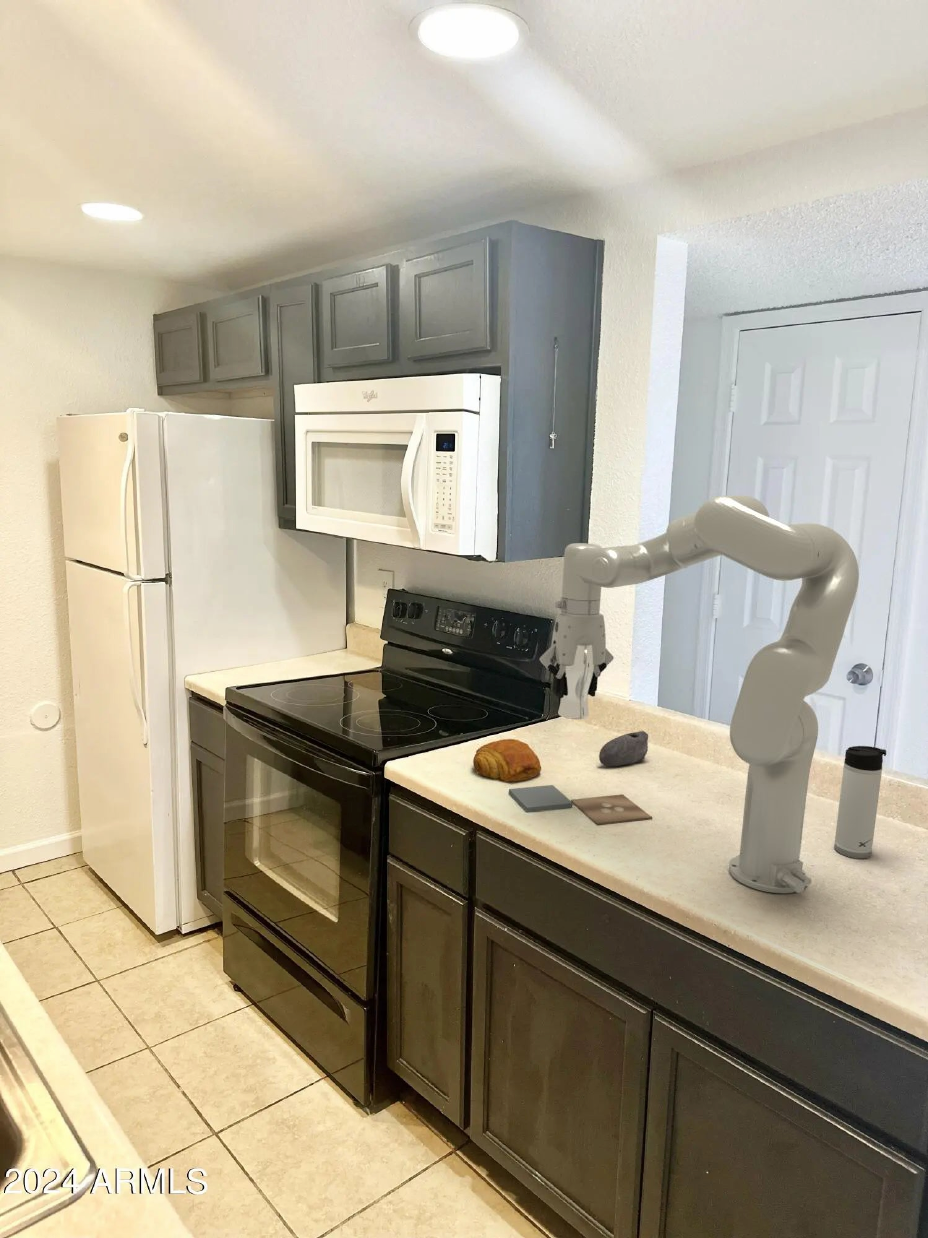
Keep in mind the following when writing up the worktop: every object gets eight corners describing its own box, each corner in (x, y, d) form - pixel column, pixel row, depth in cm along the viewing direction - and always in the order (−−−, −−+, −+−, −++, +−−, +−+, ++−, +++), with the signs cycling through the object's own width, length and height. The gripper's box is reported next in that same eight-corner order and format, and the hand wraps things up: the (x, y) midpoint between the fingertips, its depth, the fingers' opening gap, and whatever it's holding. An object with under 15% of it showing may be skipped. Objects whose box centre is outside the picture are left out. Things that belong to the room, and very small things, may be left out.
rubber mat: (572, 807, 170) (572, 803, 169) (526, 812, 166) (527, 807, 166) (552, 789, 179) (552, 784, 179) (508, 793, 176) (508, 789, 176)
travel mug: (871, 863, 149) (884, 756, 146) (831, 853, 153) (843, 748, 149) (875, 850, 155) (888, 746, 151) (836, 841, 158) (848, 739, 154)
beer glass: (589, 721, 164) (595, 647, 161) (554, 718, 165) (559, 643, 163) (592, 712, 171) (597, 640, 168) (557, 708, 172) (562, 637, 169)
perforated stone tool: (605, 772, 190) (607, 743, 189) (590, 765, 195) (592, 736, 193) (654, 762, 198) (656, 734, 197) (638, 755, 202) (640, 728, 201)
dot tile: (652, 819, 165) (652, 817, 165) (597, 825, 161) (597, 823, 161) (622, 796, 176) (622, 794, 176) (570, 801, 173) (570, 799, 173)
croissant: (464, 775, 192) (460, 742, 190) (521, 757, 199) (518, 725, 197) (496, 796, 179) (493, 761, 177) (556, 775, 186) (553, 742, 184)
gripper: (547, 611, 158) (541, 703, 161) (629, 609, 163) (622, 698, 166) (532, 604, 165) (527, 692, 168) (611, 603, 170) (605, 688, 173)
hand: (574, 694), depth 167 cm, fingers closed on beer glass, 6 cm apart
